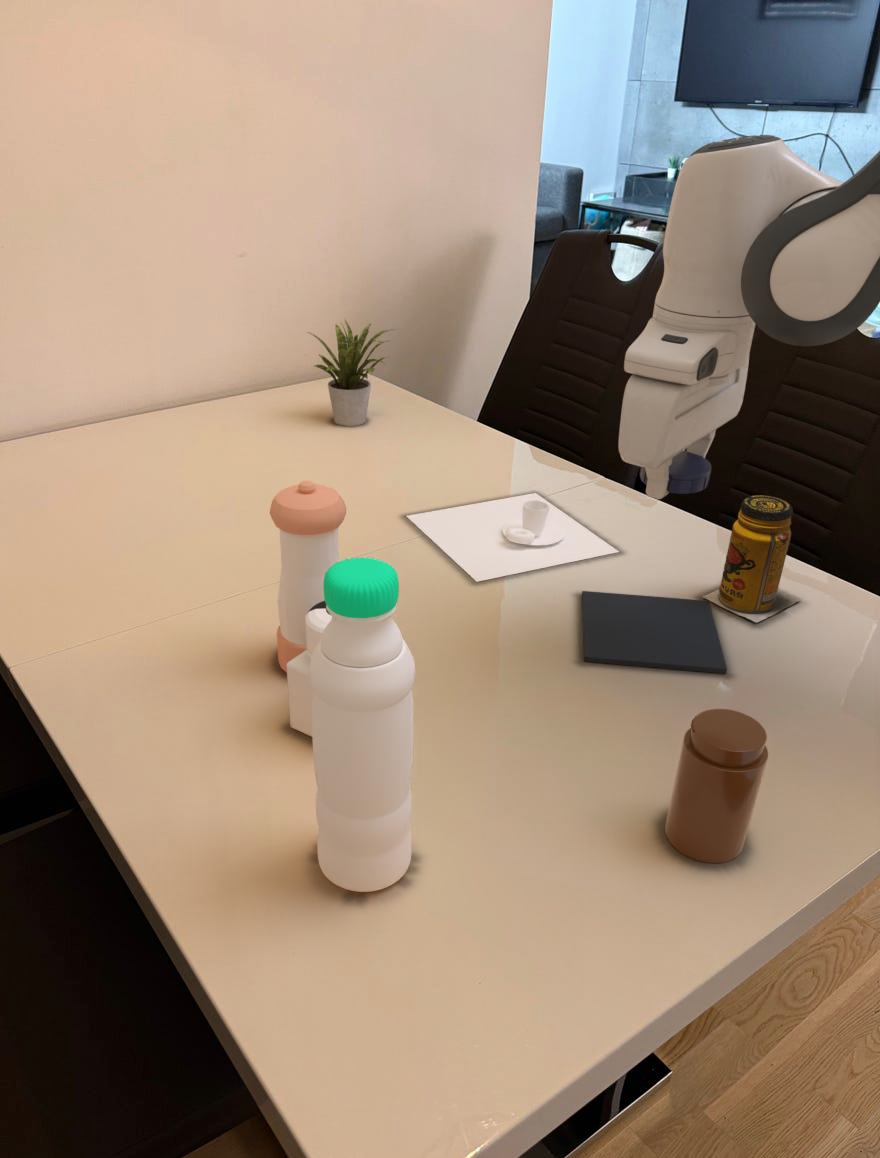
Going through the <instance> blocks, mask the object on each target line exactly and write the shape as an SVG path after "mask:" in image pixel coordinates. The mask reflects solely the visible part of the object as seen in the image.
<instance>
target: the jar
mask: <svg viewBox="0 0 880 1158" xmlns="http://www.w3.org/2000/svg"><path fill="white" fill-rule="evenodd" d="M767 739H768V735H767V732H766V730H765V727H763V725H762V724H761V723H760V722H758V720H756V719H755V718H753V717H752V716H750V715H748V714H745V713H743V712H740V711H736V710H734V709H727V708H712V709H707V710H703V711H701V712H700V713H698V714H696V715H695V716H694V717H693V719H692V720H691V722H690V727H689V728H688V729H687V730H686V732H685V733H684V736H683V741H682V745H681V748H680V749H681V750H680V755H679V758H678V759H679V760H678V764H677V768H676V773H675V778H674V782H673V788H672V792H671V797H670V801H669V806H668V812H667V816H666V819H665V824H664V825H665V826H664V832H665V836H666V839H667V840H668V842H669V843H670V844H671V846H672V847H673V848H674V849H676V851H678V852H679V853H680V854H682V855H684V856H686V857H688V858H690V859H692V860H696V861H698V862H703V863H710V864H721V863H726V862H729V861H732V860H734V859H736V858H737V857H738V856H740V854H741V853H742V851H743V849H744V845H745V842H746V839H747V836H748V831H749V827H750V824H751V820H752V816H753V814H754V813H753V812H754V809H755V805H756V802H757V799H758V795H759V791H760V788H761V784H762V780H763V777H764V773H765V769H766V765H767V763H768V758H769V752H768V748H767V746H766V743H767Z"/></svg>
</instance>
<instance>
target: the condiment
mask: <svg viewBox="0 0 880 1158" xmlns="http://www.w3.org/2000/svg"><path fill="white" fill-rule="evenodd" d="M793 514H794V509H793V506H792V505H791V504H790V503H789V502H788V501H786V500H785V499H782V498H780V497H776V496H771V495H762V494H761V495H760V494H758V495H757V494H755V495H751V496H747V497H746V498H744V499H743V500H742V502H741V503H740V510H739V512H738V515H737V520H735V522H734V523H733V524H732V529H731V534H730V537H729V543H728V548H727V552H726V556H725V562H724V566H723V570H722V575H721V581H720V586H719V588H718V589H717V590H714V591H712V592H710V593H707V594H705V595H702V596H701V597H702V598H703V599H706V600H707V601H709V602H711V603H714V604H715V605H717V606H719V607H721V608H723V609H725V610H727V611H730V612H731V613H734V614H735V615H737V616H741V617H742V618H746V619H748V620H750V621H752V622H754V623H757V624H758V623H759V622H761V621H764V620H766V619H768V618H770V617H772V616H774V615H776V614H778V613H779V612H782V611H783V610H784V609H787V608H788V607H791V606H793V605H794V604H796V603H797V602H800V601H802V598H799V597H797V596H793V595H791V594H788V593H786V592H783V591H781V590H779V586H780V582H781V578H782V573H783V570H784V567H785V562H786V557H787V553H788V549H789V545H790V542H791V537H792V531H791V524H792V516H793Z"/></svg>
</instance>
